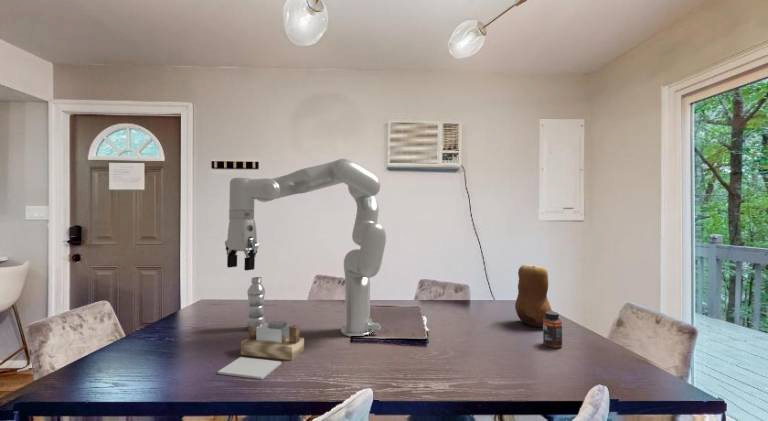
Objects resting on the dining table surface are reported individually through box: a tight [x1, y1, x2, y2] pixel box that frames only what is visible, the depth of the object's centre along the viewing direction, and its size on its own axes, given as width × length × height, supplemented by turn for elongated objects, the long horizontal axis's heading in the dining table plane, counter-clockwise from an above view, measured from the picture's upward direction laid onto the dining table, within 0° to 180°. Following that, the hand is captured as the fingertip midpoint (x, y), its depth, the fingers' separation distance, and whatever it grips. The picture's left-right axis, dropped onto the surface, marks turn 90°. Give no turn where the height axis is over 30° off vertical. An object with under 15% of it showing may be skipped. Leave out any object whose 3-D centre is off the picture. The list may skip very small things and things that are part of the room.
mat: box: [217, 356, 282, 380], centre depth 97 cm, size 14×10×1 cm
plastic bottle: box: [246, 276, 266, 330], centre depth 132 cm, size 6×7×20 cm
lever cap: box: [256, 320, 290, 344], centre depth 109 cm, size 9×5×6 cm, turn 77°
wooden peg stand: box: [240, 324, 305, 361], centre depth 109 cm, size 18×8×9 cm, turn 77°
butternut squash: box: [514, 263, 553, 328], centre depth 138 cm, size 14×13×25 cm
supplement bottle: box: [542, 311, 563, 349], centre depth 116 cm, size 6×6×11 cm
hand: (240, 268), depth 108 cm, fingers open, 9 cm apart
